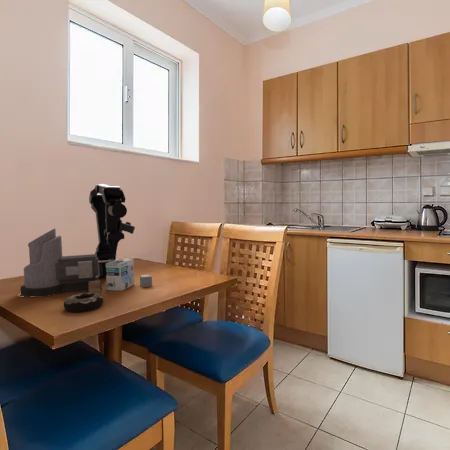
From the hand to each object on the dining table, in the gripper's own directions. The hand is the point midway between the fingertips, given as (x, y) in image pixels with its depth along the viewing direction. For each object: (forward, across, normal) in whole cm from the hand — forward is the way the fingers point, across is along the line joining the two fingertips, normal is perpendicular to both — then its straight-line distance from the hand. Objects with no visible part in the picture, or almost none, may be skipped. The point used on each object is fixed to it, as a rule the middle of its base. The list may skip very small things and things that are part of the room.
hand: (114, 254), depth 133 cm
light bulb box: (+13, -7, -1) cm, 15 cm away
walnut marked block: (+12, -9, +9) cm, 18 cm away
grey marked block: (+12, -9, -11) cm, 19 cm away
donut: (+12, -28, +13) cm, 33 cm away
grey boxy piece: (+13, +1, +20) cm, 24 cm away
